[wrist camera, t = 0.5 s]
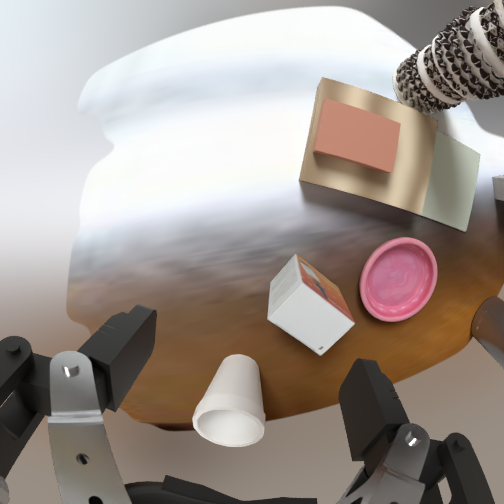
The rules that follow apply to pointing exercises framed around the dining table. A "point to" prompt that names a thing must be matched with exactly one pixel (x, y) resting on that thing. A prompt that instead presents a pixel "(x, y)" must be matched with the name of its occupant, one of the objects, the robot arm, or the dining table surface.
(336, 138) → the salmon pink brick
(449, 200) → the mat
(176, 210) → the dining table surface
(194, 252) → the dining table surface
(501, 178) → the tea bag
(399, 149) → the panel
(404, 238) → the saucer
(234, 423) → the foam cup
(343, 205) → the dining table surface
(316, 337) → the small box
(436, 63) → the decorative candle
